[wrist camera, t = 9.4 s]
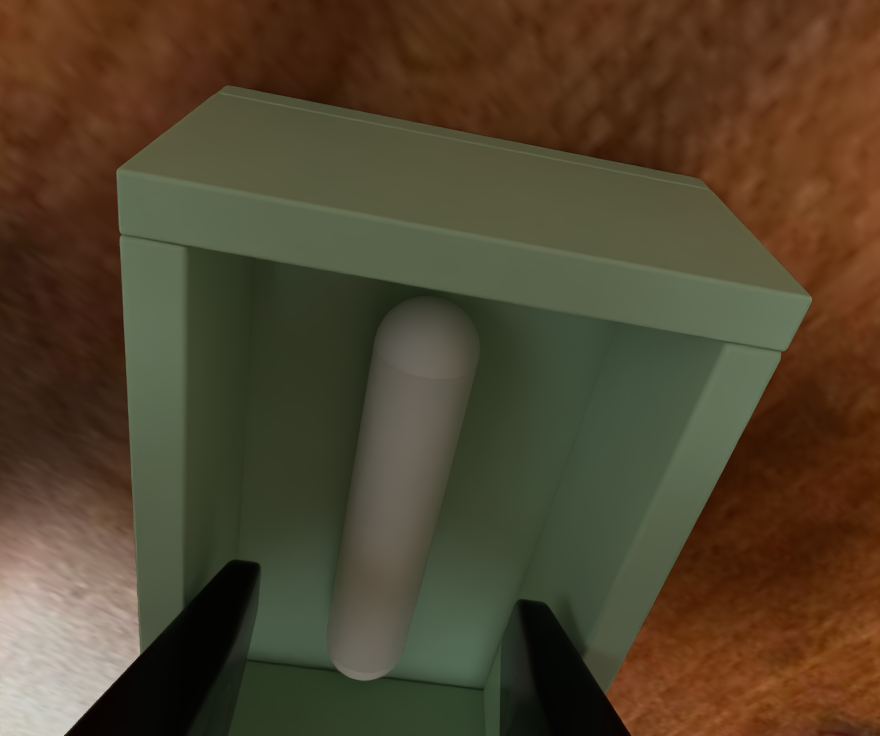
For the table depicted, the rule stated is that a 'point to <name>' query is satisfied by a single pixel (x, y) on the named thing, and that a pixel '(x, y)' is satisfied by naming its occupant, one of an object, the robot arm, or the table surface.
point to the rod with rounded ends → (399, 479)
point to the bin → (490, 402)
